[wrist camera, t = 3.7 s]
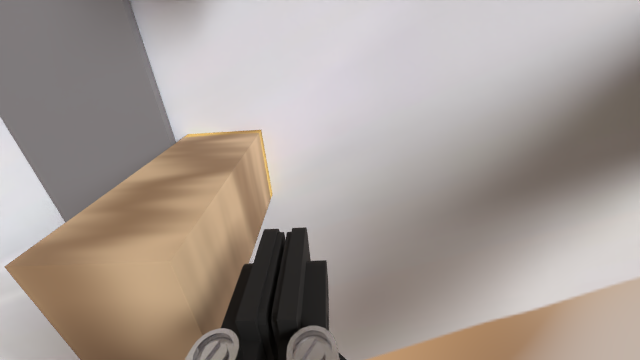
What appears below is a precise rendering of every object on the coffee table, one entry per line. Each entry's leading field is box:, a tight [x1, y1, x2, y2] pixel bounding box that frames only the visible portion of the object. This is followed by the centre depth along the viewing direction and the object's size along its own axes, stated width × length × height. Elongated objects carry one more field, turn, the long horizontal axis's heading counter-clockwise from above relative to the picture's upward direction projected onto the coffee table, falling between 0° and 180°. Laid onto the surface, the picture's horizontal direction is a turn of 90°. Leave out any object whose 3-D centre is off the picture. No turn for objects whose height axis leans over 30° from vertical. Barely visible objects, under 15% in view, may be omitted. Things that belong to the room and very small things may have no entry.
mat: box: [0, 0, 176, 222], centre depth 20 cm, size 10×24×1 cm, turn 4°
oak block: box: [5, 130, 272, 360], centre depth 14 cm, size 5×5×12 cm
